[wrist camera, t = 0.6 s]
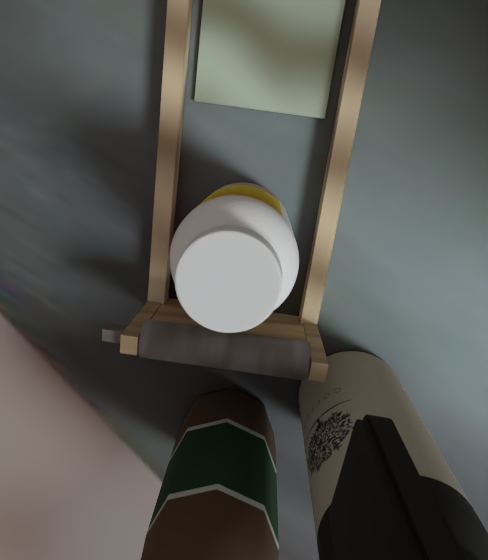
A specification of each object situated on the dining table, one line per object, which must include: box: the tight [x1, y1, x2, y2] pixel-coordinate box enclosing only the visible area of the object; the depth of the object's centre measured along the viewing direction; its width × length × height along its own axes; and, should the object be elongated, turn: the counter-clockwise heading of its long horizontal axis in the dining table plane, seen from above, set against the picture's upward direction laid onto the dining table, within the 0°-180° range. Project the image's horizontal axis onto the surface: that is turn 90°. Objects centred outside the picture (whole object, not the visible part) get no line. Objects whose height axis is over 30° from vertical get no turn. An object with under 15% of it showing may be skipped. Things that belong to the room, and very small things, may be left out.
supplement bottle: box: [170, 182, 299, 333], centre depth 24 cm, size 7×7×13 cm
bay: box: [102, 0, 381, 382], centre depth 25 cm, size 27×14×7 cm, turn 172°
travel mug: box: [299, 351, 488, 560], centre depth 25 cm, size 8×8×18 cm
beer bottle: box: [141, 388, 279, 560], centre depth 24 cm, size 8×8×24 cm
